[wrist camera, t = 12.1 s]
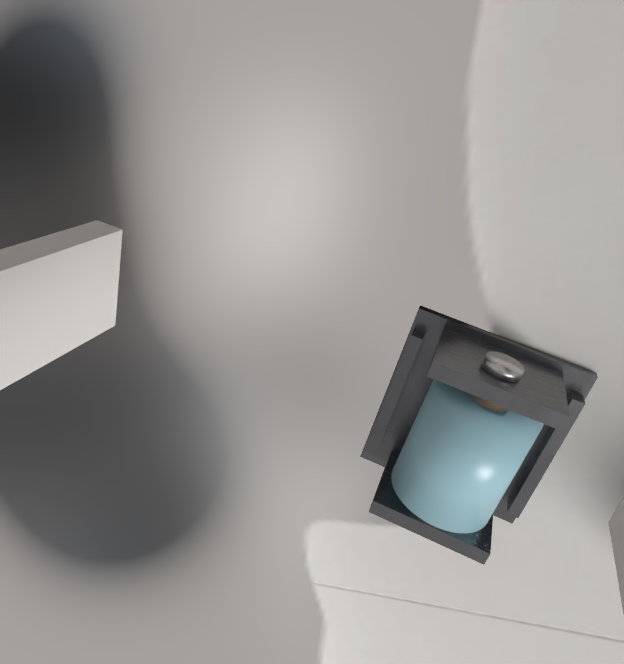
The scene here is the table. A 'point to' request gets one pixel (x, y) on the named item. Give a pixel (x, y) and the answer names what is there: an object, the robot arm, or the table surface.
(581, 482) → the table surface
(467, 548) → the holder
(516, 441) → the roll
